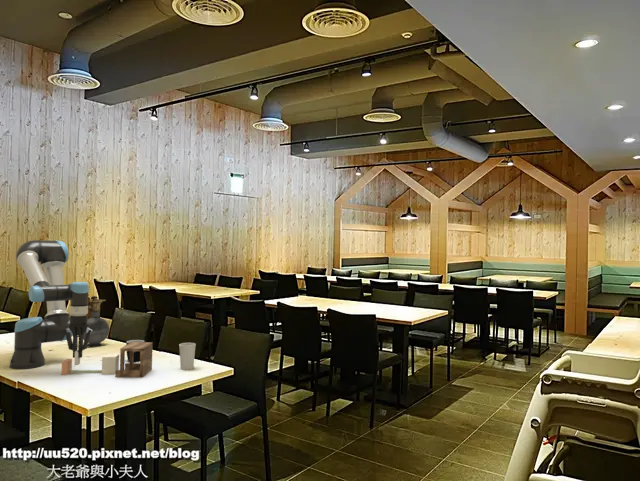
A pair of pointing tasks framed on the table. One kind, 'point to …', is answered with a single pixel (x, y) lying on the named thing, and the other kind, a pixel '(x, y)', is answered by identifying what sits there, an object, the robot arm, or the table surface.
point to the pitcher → (96, 323)
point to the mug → (136, 353)
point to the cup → (187, 355)
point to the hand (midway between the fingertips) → (77, 364)
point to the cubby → (135, 368)
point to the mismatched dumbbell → (108, 367)
